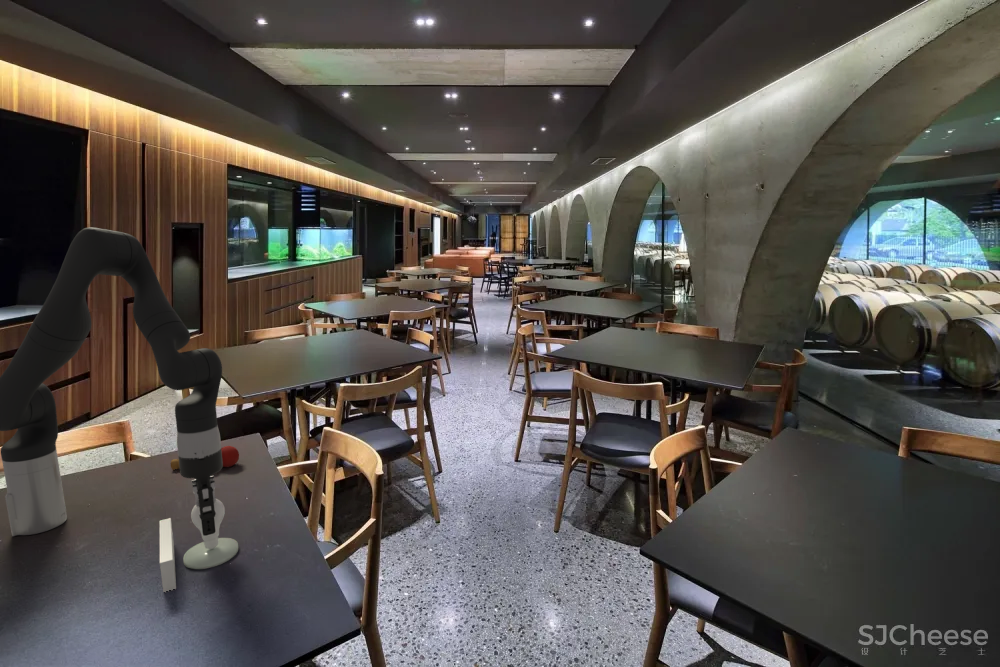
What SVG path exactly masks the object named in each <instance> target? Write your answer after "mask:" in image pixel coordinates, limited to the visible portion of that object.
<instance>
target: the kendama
mask: <svg viewBox="0 0 1000 667" xmlns="http://www.w3.org/2000/svg"><path fill="white" fill-rule="evenodd" d="M221 451H222V461H223V467H224V468H231V467H233V466H234V465H236V464H238V462H239V459H240V453H239V451H238V449H237V448H236V447H234V446H233V445H226V446H223V447H221ZM223 467H222V468H223ZM170 469H171V470H173V471H176V470H180V467H179V458H173V459H171V461H170ZM175 469H176V470H175Z"/></svg>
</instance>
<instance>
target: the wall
mask: <svg viewBox="0 0 1000 667" xmlns="http://www.w3.org/2000/svg"><path fill="white" fill-rule="evenodd" d="M175 556H176V555H175V542H174V534H173V526H172V518H171V517H169V518H166V519H162V520H159V568H160V569H159V570H160V575H161V576H160V577H161V583H162V584H161V585H162V590H163V592H165V593H167V592H166V591H168V592H170V591H169V590H171V591H174V590H173V589H175V590H177V581H176V576H177V575H176V562H175V561H176V558H175Z"/></svg>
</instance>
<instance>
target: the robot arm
mask: <svg viewBox="0 0 1000 667" xmlns="http://www.w3.org/2000/svg"><path fill="white" fill-rule="evenodd" d="M65 254H66V255H65V257H64V260H63V262H62V264H61V267H60V270H59V272H58V274H57V277H56V279H55V281H54V283H53V285H52V288H51V290H50V292H49V294H48V296H47V297H46V299H45V301H44V303H43V304H42V307H41V308H40V309H39V311H38V313H37V315H36V316H35V318H34V320H33V321H32V323H31V324H30V327H29V329H28V330H27V333H26V335H25V337H24V339H23V340H22V342H21V344H20V345H19V347H18V349H17V351H16V352H15V354H14V355H13V357H12V359H11V361H10V362H9V364H8V366H6V369H5V370H4V371H3V373H2V374H1V376H0V432H6V431H7V432H8V431H13V430H16V432H14V434H13V436H12V437H10V439H8V440H7V441H6V442H5V443H4V444H2V446H1V448H0V457H1V463H2V468H3V473H4V479H5V485H6V486H5V487H6V494H5V497H4V499H5V504H6V509H7V510H6V511H7V516H8V522H9V526H10V527H9V528H10V531H11V536H12V537H16V536H31V535H36V534H40V533H44V532H47V531H50V530H53V529H55V528H58V527H59V526H61V525H62V524H64V523H65V522H66V521H67V519H68V516H67V508H66V502H65V495H64V490H63V483H62V476H61V471H60V470H61V469H60V465H59V464H60V463H59V458H58V451H57V445H56V444H57V439H58V437H59V429H58V428H59V427H58V416H57V406H56V405H57V404H56V401H55V396H54V394H53V392H52V391H51V389H50V388H49V387H48V386H47V385H46V384H44V382H45V381H46V380H48V378H50V377H51V376H52V375H54V374H55V373H56V372H57V371H58V370H60V369H61V368H62V367H63V366H65V365H66V364H67V363H68V362H70V361H71V359H72V358H73V357H75V355H76V354H77V353H78V352H79V350H80V348H81V347H82V346H83V344H84V342H85V340H86V339H87V336H88V335H89V333H90V331H91V329H92V317H91V313H90V309H89V306H88V304H87V299H86V298H87V292H88V290H89V288H90V285H91V284H92V282H93V281H94V279H95V278H96V277H97V276H98V275H103V276H104V275H105V276H114V277H121V278H122V279H124V280H125V281H126V282H127V283H128V285H129V286H130V287H131V288H132V290H133V294H134V296H133V297H134V299H133V306H132V314H133V319H134V321H135V324H136V326H137V327H138V329H139V331H140V332H141V334H142V335H143V337H144V338H145V340H146V341H147V342H148V344H149V345H150V348H151V350H152V353H153V356H154V359H155V363H156V366H157V372H158V376H159V378H160V380H161V382H162V383H163V384H164V386H166V387H167V388H169V389H171V390H174V391H184V390H187V389H190V388H193V389H192V391H191V393H190V394H189V395H188V396H186V397H184V398H182V399H181V400H179V401H178V402H177V403H176V404H175V406H174V414H175V415H174V416H175V424H176V446H177V447H176V448H177V455H178V456H177V457H178V458H177V459H179V467H180V468H179V475H180V476H181V477H182V478H186V479H192V480H191V487H192V493H193V495H194V498H195V505H196V507H197V508H199V509H200V515H199V517H200V518H201V522H202V531H203V535H204V536H206V535H210V534H214V533H215V521H214V517H215V515H216V512H215V510H214V504H215V502H216V499H217V498H216V492H215V490H216V481H215V476H214V474H217V473H219V472H220V471H222V469H223V461H222V451H221V448H222V441H221V434H220V430H219V425H218V418H217V417H218V414H217V408H216V407H217V400H218V395H219V390H220V386H221V383H222V382H221V381H222V375H223V365H222V364H223V363H222V361H221V358H220V357H219V355H218V354H217V353H216V352H215V351H214V350H213V349H211V348H207V347H206V348H198V349H193V350H187V351H183V352H179V350H182V348H185V347H186V345H188V343H189V342H190V341H191V333H190V331H189V329H188V328H187V326H186V325H185V323H184V322H183V321H182V319H181V318H180V316H179V315H178V312H176V311H175V309H174V308H173V306H172V304H171V303H170V302H169V300H168V298H167V296H166V294H165V293H164V290H163V288H162V286H161V284H160V281H159V279H158V277H157V274H156V273H155V270H154V267H153V266H152V263H151V262H150V259H149V257H148V254H147V253H146V251H145V249H144V247H143V245H142V244H141V241H139V240H138V239H137V237H135V236H134V235H132V234H129V233H127V232H126V233H125V232H122V231H118V230H117V231H116V230H110V229H106V228H98V227H91V226H90V227H85V228H83V229H81V230H80V231H78V232H77V234H76V235H75V237H73V240H71V243H70V245H69V247H68V250H67V252H66V253H65ZM208 506H211V510H209V511H205V512H203V508H204V507H208Z"/></svg>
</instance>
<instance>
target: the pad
mask: <svg viewBox="0 0 1000 667" xmlns="http://www.w3.org/2000/svg"><path fill="white" fill-rule="evenodd" d="M238 551H239V543H238V541H237V540H236V539H234V538H230V537H218V545H217V546H216V547H215V548H214V549H206V548H205V545H204V541H202V542H199V543H197V544H195V545H194V546H191V547H190V548H189V549H188V550H187V551H186V552H185V553H184V555H183V565H184V567H186V568H188V569H191V570H205V569H209V568H214V567H217V566H220V565H222V564H224V563H226V562H228V561H230V560H231V559H233V558H234V557H235V556H236V555H237V553H238Z"/></svg>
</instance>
